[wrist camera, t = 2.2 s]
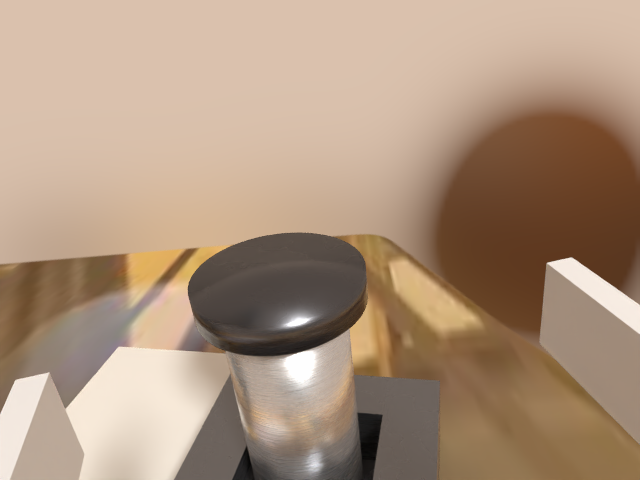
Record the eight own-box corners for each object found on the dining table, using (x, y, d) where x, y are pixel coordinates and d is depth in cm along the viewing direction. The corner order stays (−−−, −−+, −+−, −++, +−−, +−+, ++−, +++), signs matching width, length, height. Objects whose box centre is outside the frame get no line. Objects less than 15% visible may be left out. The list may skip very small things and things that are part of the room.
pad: (10, 490, 36) (5, 480, 35) (121, 355, 48) (118, 346, 47) (201, 518, 33) (198, 507, 32) (269, 365, 45) (267, 356, 44)
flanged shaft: (226, 563, 29) (154, 321, 22) (270, 446, 36) (226, 232, 28) (374, 588, 27) (349, 330, 20) (390, 458, 34) (376, 233, 27)
